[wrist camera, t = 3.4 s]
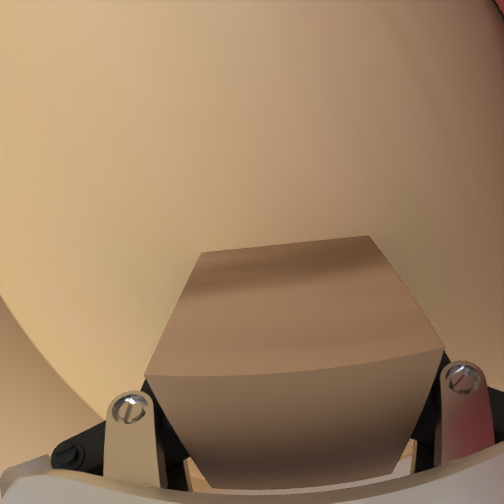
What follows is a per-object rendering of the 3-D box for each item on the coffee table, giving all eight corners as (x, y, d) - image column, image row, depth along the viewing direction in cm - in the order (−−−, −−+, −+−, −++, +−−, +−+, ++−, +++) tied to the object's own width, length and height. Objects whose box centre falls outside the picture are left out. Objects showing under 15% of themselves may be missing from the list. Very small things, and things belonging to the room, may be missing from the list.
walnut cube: (201, 252, 10) (144, 374, 5) (368, 235, 10) (444, 346, 5) (230, 371, 12) (211, 487, 7) (361, 359, 12) (391, 473, 7)
